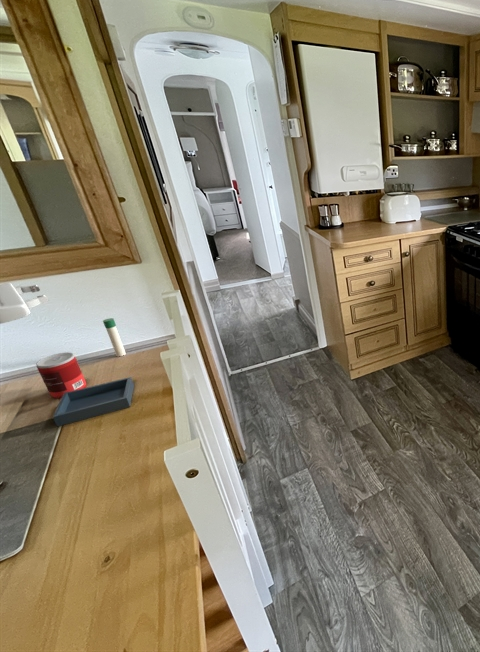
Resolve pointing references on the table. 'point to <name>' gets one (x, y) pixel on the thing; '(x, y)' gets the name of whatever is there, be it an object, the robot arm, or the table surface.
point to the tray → (94, 401)
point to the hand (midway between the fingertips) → (42, 292)
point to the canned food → (61, 374)
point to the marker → (114, 336)
